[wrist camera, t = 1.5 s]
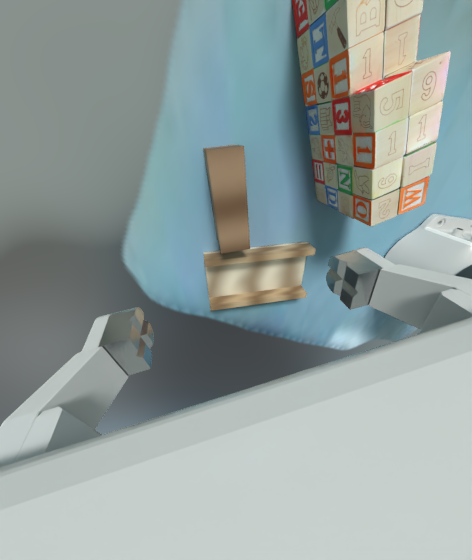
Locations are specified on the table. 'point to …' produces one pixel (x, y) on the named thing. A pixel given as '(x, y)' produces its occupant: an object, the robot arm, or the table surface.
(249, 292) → the tan shallow tray
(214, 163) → the walnut block
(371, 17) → the stack of blocks
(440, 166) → the table surface
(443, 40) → the table surface
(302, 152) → the table surface
